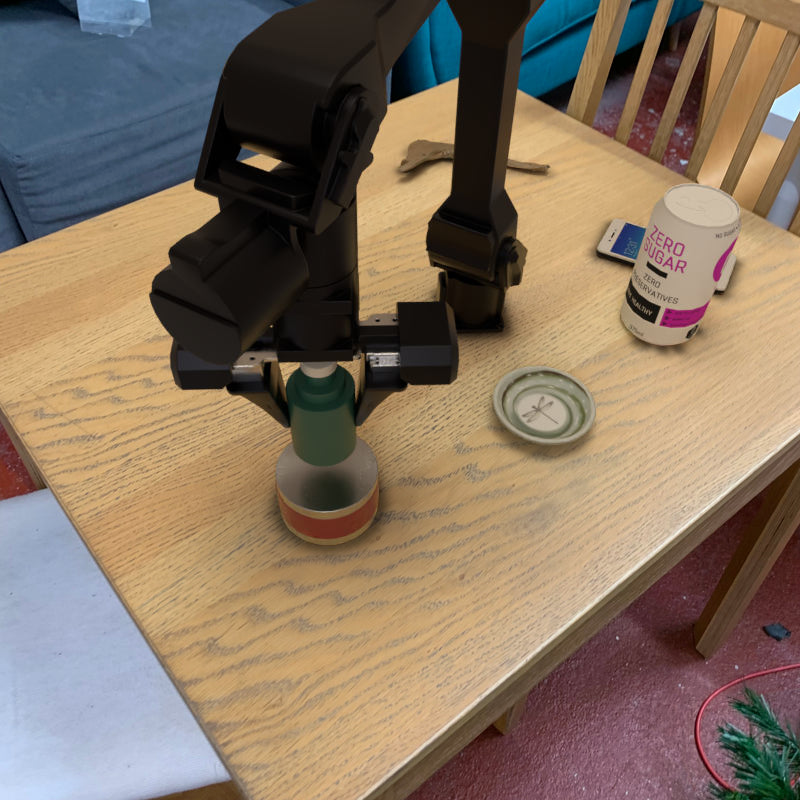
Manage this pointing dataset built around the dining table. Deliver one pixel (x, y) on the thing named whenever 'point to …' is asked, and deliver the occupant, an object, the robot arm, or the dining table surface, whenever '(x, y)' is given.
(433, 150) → the jawbone
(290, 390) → the bottle
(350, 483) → the tin
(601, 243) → the smartphone
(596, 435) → the dining table surface
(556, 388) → the saucer
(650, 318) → the supplement can
